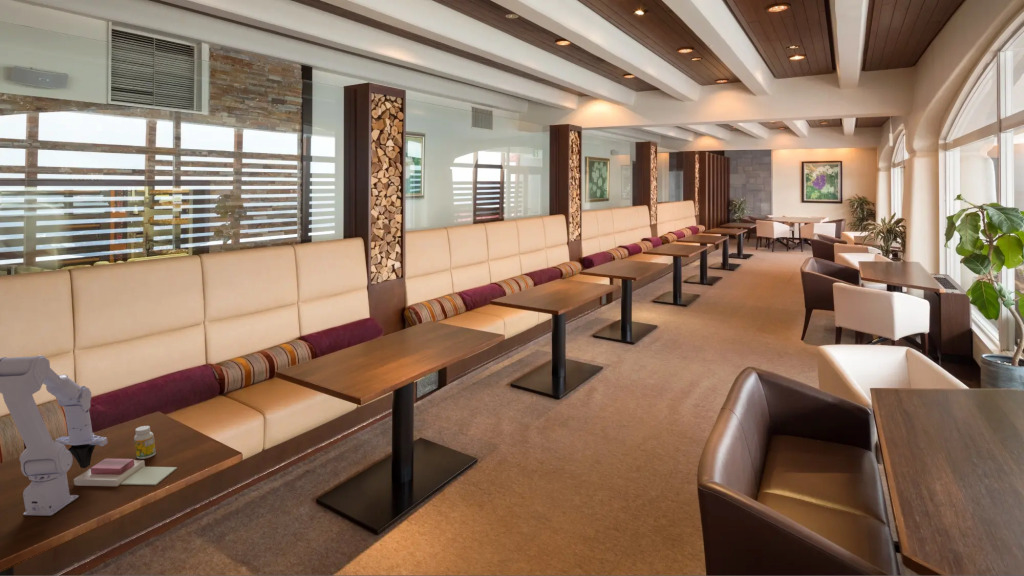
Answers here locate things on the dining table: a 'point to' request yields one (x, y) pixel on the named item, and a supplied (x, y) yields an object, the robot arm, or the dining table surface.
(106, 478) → the white flat block
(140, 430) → the supplement bottle
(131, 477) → the mat
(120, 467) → the tile
